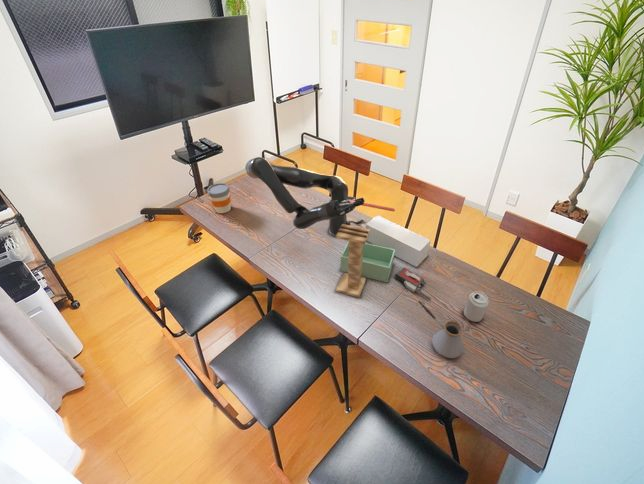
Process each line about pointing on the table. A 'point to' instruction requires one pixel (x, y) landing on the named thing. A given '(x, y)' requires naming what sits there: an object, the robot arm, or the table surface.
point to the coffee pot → (447, 338)
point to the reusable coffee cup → (220, 197)
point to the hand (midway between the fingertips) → (363, 200)
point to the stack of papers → (398, 240)
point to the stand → (353, 259)
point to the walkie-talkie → (411, 281)
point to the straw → (376, 206)
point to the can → (476, 306)
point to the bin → (372, 261)
